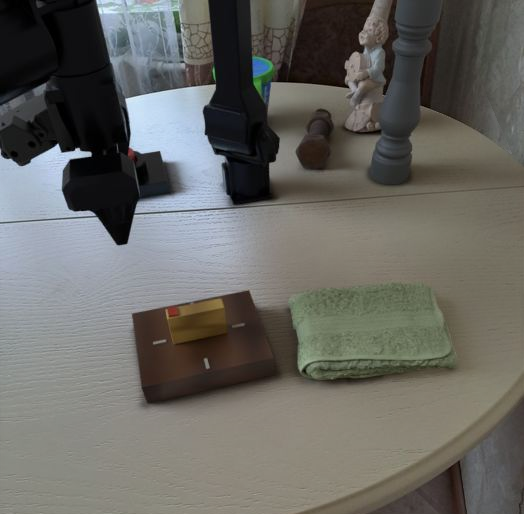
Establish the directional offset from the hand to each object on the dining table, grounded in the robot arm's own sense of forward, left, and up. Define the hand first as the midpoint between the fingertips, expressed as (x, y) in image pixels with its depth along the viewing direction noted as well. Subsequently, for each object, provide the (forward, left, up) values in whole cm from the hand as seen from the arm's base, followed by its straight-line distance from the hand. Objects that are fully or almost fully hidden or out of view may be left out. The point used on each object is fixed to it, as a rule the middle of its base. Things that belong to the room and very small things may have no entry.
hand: (120, 219), depth 55 cm
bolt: (-34, -30, -12) cm, 47 cm away
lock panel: (-6, +11, -12) cm, 17 cm away
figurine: (-45, -35, -12) cm, 58 cm away
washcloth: (-25, +14, -12) cm, 31 cm away
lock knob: (-6, +11, -9) cm, 15 cm away
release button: (-1, -28, -8) cm, 29 cm away
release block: (-1, -28, -12) cm, 30 cm away
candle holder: (-42, -18, -12) cm, 47 cm away
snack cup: (-24, -42, -12) cm, 50 cm away
